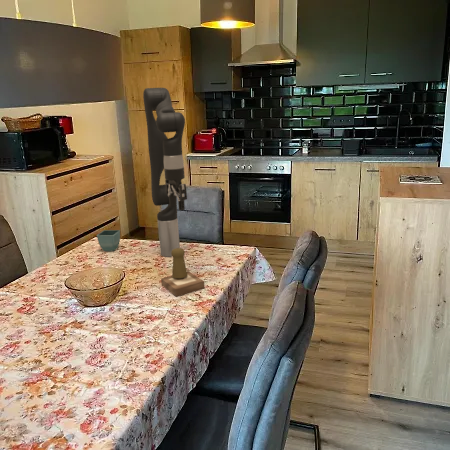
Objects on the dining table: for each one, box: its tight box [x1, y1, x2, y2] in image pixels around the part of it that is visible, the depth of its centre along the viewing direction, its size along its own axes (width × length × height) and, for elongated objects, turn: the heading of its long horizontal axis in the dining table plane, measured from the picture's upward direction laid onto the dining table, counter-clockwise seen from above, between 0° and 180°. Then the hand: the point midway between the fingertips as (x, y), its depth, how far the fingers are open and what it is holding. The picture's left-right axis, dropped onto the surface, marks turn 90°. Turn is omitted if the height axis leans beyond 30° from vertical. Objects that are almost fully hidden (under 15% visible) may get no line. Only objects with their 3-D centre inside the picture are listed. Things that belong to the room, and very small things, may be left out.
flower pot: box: [96, 229, 121, 252], centre depth 217 cm, size 9×9×9 cm
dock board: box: [160, 270, 205, 298], centre depth 170 cm, size 13×12×3 cm
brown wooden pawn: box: [171, 248, 188, 278], centre depth 171 cm, size 6×6×11 cm
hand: (177, 207), depth 172 cm, fingers open, 8 cm apart
